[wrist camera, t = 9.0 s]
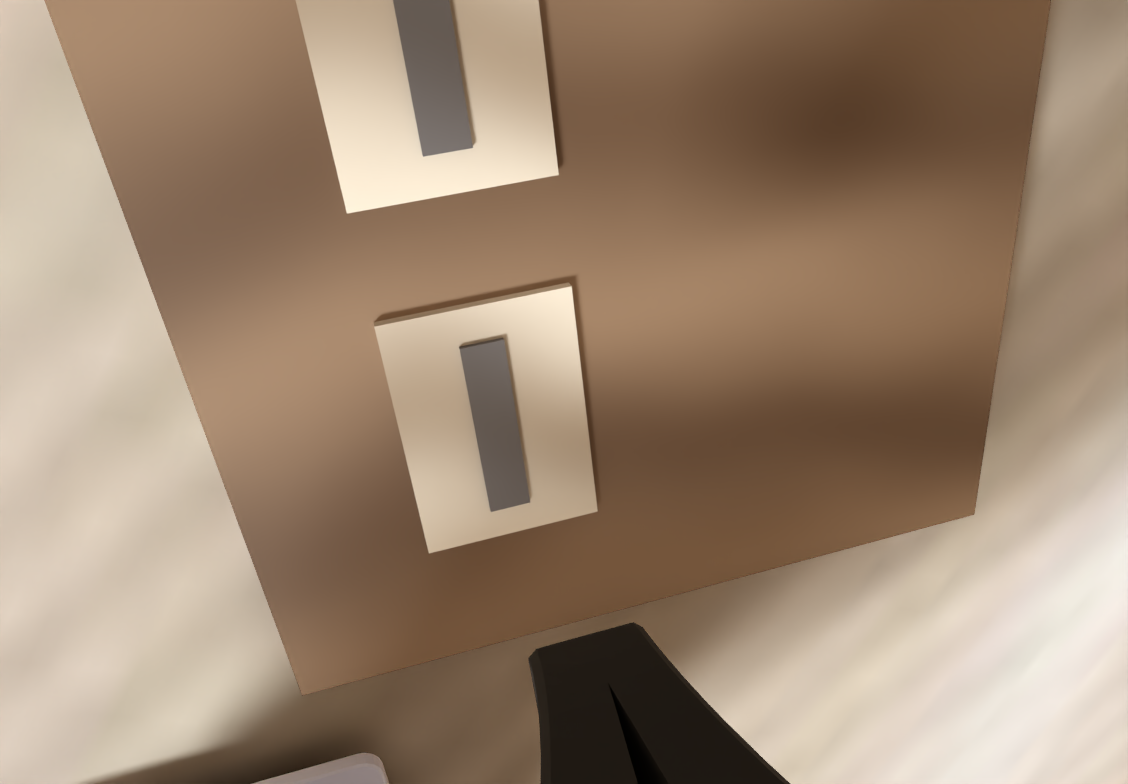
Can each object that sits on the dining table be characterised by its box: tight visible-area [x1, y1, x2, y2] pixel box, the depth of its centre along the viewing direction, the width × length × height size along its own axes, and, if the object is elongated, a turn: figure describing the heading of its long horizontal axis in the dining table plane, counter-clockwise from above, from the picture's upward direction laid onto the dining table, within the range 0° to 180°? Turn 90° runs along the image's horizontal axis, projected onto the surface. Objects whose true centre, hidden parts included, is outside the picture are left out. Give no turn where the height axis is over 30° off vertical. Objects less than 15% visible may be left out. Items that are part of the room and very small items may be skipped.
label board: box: [45, 0, 1051, 696], centre depth 15 cm, size 20×16×2 cm
